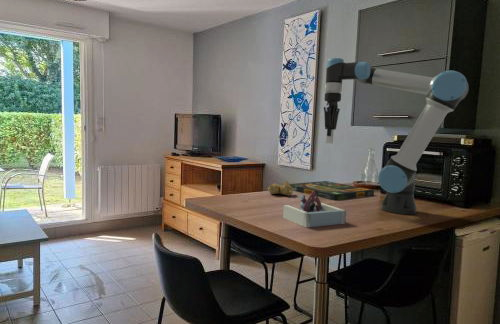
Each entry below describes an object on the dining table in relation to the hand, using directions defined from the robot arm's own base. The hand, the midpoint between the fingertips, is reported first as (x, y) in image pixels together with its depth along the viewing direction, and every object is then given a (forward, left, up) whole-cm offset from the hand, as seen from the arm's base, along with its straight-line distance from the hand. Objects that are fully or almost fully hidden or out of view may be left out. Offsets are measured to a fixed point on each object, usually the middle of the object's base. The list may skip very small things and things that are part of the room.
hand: (329, 143), depth 177 cm
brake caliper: (-8, +30, -30) cm, 43 cm away
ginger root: (+28, -5, -30) cm, 41 cm away
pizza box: (+14, -35, -30) cm, 48 cm away
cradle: (-10, +32, -29) cm, 45 cm away
